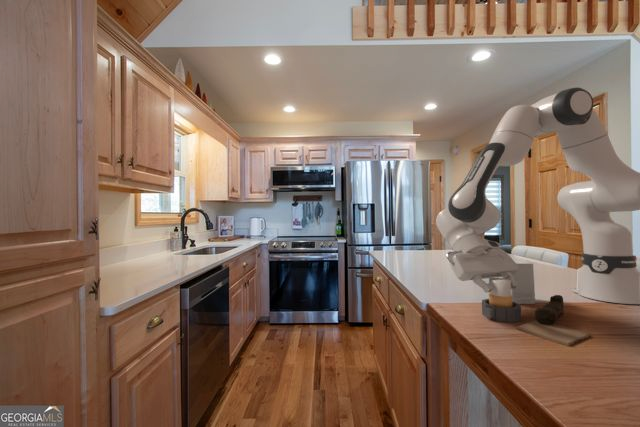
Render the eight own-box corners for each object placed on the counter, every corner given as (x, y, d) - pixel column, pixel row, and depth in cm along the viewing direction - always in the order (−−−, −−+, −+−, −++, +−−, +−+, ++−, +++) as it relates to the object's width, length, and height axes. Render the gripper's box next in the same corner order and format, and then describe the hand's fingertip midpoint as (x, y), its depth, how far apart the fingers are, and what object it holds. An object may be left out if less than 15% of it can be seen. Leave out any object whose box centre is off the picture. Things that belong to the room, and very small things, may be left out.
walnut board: (538, 321, 70) (538, 319, 70) (590, 336, 61) (590, 333, 61) (516, 329, 65) (515, 326, 65) (568, 346, 56) (567, 343, 56)
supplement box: (536, 304, 84) (534, 263, 84) (512, 304, 84) (510, 263, 84) (519, 297, 91) (517, 259, 91) (496, 297, 91) (495, 260, 91)
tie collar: (494, 308, 80) (494, 297, 80) (528, 318, 72) (527, 305, 72) (471, 314, 76) (471, 302, 76) (504, 325, 68) (504, 311, 68)
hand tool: (555, 327, 64) (555, 307, 64) (534, 322, 67) (534, 303, 67) (573, 312, 75) (573, 296, 76) (554, 309, 79) (554, 293, 79)
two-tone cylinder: (497, 311, 78) (495, 276, 78) (517, 317, 73) (515, 280, 73) (485, 314, 75) (483, 279, 76) (505, 321, 71) (503, 282, 71)
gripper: (448, 245, 78) (478, 286, 69) (502, 242, 84) (537, 279, 75) (438, 258, 83) (465, 299, 73) (490, 254, 88) (521, 292, 79)
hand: (502, 289), depth 74 cm, fingers open, 7 cm apart
